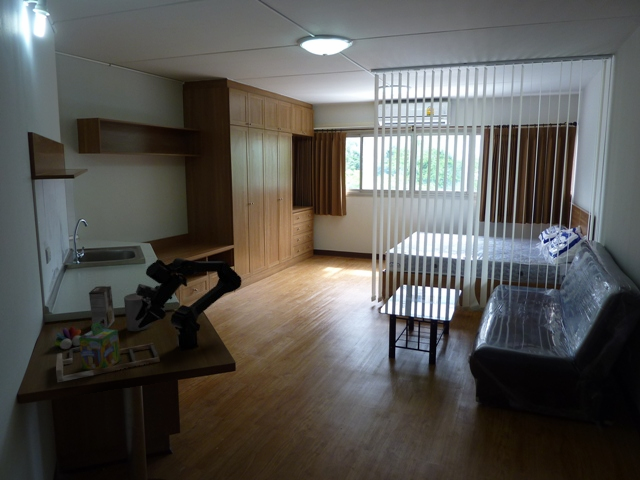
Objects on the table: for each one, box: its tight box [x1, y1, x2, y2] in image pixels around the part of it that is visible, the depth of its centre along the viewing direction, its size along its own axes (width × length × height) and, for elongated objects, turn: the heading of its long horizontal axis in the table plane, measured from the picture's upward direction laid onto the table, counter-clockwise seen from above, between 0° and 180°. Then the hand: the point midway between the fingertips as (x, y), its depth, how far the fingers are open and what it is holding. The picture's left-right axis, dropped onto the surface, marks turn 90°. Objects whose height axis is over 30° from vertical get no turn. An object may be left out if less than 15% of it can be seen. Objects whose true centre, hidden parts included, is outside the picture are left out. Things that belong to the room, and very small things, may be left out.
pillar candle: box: [123, 292, 152, 332], centre depth 199 cm, size 10×10×15 cm
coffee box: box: [88, 285, 116, 329], centre depth 201 cm, size 9×6×16 cm
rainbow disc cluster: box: [54, 326, 82, 350], centre depth 182 cm, size 8×10×7 cm
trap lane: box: [55, 342, 161, 383], centre depth 170 cm, size 32×25×4 cm
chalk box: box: [79, 322, 122, 371], centre depth 164 cm, size 9×9×15 cm
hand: (137, 323), depth 168 cm, fingers open, 8 cm apart
